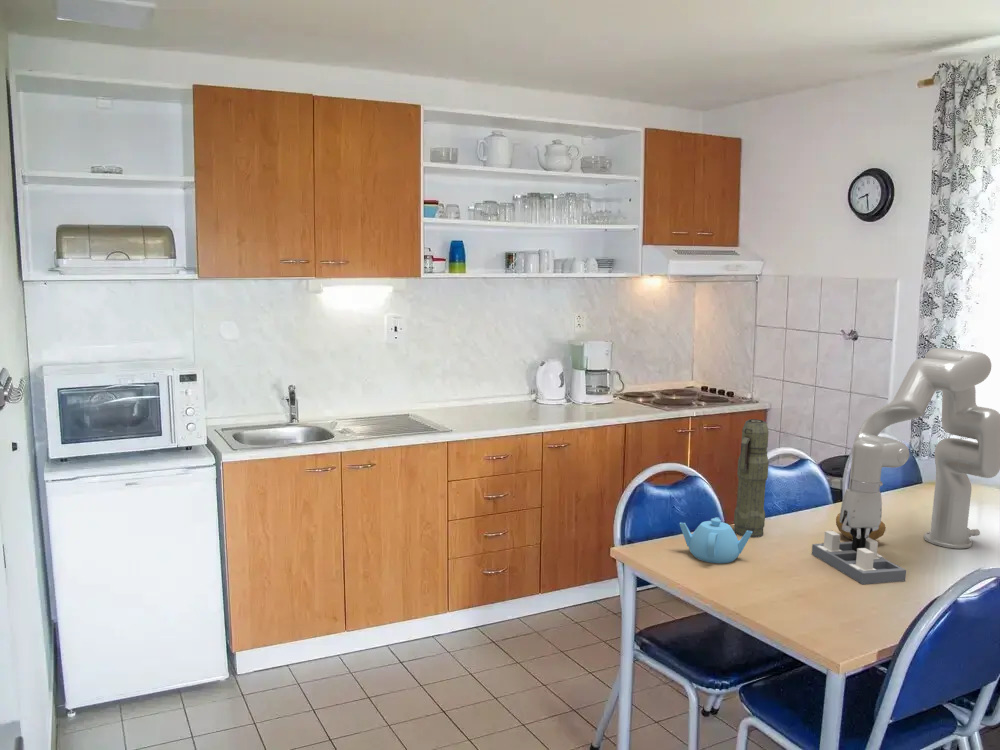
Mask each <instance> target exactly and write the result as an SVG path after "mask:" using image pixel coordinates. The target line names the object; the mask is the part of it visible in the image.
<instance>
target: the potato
mask: <svg viewBox="0 0 1000 750" xmlns="http://www.w3.org/2000/svg"><path fill="white" fill-rule="evenodd" d="M835 525H836V527H837V529H838V532H840V533H841V534H842V535H843V536H844V537H846V538H847V539H849V540H852V539H853V536H852V535H851V534H850V532H846V531H844V530H842V526H843V524H842V523H840V512H839V513H838V514H837V515H836V518H835ZM885 533H886V525H885V523H884V521H882V520H881V523H880V525H879V529H878V530H875V531H872V532H871V533H870V534H869V537H868V538H871V539H873V540H875V541H877V539H879V538H881V537H882V536H884V534H885Z"/></svg>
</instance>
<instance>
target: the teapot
mask: <svg viewBox="0 0 1000 750" xmlns="http://www.w3.org/2000/svg"><path fill="white" fill-rule="evenodd" d="M679 526H680V527H679V528H680V529H681V532H682V535H683V538H684V541H685V543H686V546H687V547H688V549H689V552H690V553H691V554H692V556H693V557H694V558H696V559H697V560H700V561H702V562H705V563H710V564H711V563H712V564H729V563H732V562H734V561H735V560H736V559H737V558H738V557H739V556H740V554H742V552H743V550H744V548H745V546H746V545H747V543H748V542H749V540H750V538H751V537H750V536H751V534H752V531H746V533H745V534H744V536H742V537H741V538H740V539H739V540H738V537H737V534H736V533H735V532H734V529H733V528H732V526H731V525H730V524H729V523H726V522H723V521H722V519H720V517H717V516H716V517H714V518H710V520H706V521H702V522H701V523H699V525H698V526H697V527H696V528H695V530H694V531H693V533H691V531H690V529H689V527H688V526H687V524H686V522H679Z"/></svg>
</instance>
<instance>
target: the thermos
mask: <svg viewBox="0 0 1000 750" xmlns="http://www.w3.org/2000/svg"><path fill="white" fill-rule="evenodd" d="M769 431H770V430H769V428H768V424H767V422H766V421H764V420H763V419H756V418H755V419H754V418H751V419H747V420H745V421H744V425H743V427H742V429H741V441H740V442H741V444H740V454H739V456H738V460H737V473H736V475H737V478H738V481H737V482H738V484H737V496H736V498H737V500H736V507H735V509H734V516H733V524H734V526H733V528H734V529H733V531H734V533H735V535H738V536H740V537H741V536H742V537H743V536H744V534H745V533H746V531H752V534H751V536H750V538H760V537H762V536H764V528H765V525H766V523H765V521H766V511H765V508H764V507H765V496H766V495H765V494H766V482H767V480H768V475H769V458H768V447H769V446H768V445H769V433H770V432H769Z"/></svg>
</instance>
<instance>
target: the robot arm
mask: <svg viewBox="0 0 1000 750" xmlns="http://www.w3.org/2000/svg"><path fill="white" fill-rule="evenodd" d="M991 370H992V362H991V359H990V357H989V355H987V354H985V353H983V352H978V351H972V350H961V349H955V348H945V347H943V348H942V347H935V348H932V349H930V350H928V351H927V352H926V354H925V356H924V358H918V359H917V360H914V361H913V362H912V364H911V365H910V367H909V369H908V371H907V372H906V374H905V376H904V379H903V380H902V382H901V383H900V386H899V387H898V389H897V392H896V393H895V396H894V398H892V401H890V402H889V403H887V404H885V405H883V406H882V407H880V408H879V409H876V410H875V411H874V412H873V413H871V414H870V415H869V416H868V417H867V418H866V419H865V420H864V421H863V422H862V425H861V427H860V428H859V430H858V432H857V434H856V436H855V438H854V441H853V445H852V450H851V451H852V453H851V462H850V463H851V464H850V471H849V472H850V473H849V474H850V475H849V485H848V488H846V489H845V492H844V494H843V498H842V501H841V508H840V512H839V513H840V523H842V524H843V526H842V530H844V531H846V532H850V534H851V535H852V536H853V539H851V540H852V541H851V542H852V550H854V551H856V552H857V548H865V544H866V539H867V538H868V537H869V534H870V533H871V532H872V531H875V530H878V529H879V525H880V523H881V521H882V513H883V511H882V510H883V501H882V493H881V491H880V487H882V486H883V485H884V484H883V481H882V480H881V476H882V469H883V468H890V469H893V468H899V467H900V468H901V467H902V466H904V465H905V464H906V463H907V462H908V460H909V457H910V450H909V447H908V446H907V444H905V443H904V442H902V441H900V440H898V439H897V440H896V439H893V438H888V437H884V436H880V435H879V434H880V433H881V432H882V431H883V430H885V429H886V428H887V427H890V426H891V425H894V424H897V423H903V422H905V421H911V420H915V419H918V418H920V417H922V416H923V415H924V414H925V412H926V410H927V408H928V405H930V402H931V401H932V398H933V396H934V395H935V392H936V391H940V392H941V393H942V396H941V398H942V399H941V400H942V401H941V427H942V429H943V430H944V432H946V433H947V434H949V435H952V436H957V437H962V438H967V440H966V439H962V438H961V439H960V438H955V437H948V438H947V437H946V438H943V439H940V440H939V442H937V444H936V446H935V448H934V462H935V484H934V485H935V486H934V492H933V505H932V514H931V521H930V522H931V523H930V531H927V532H925V533H924V534H923V535H924V536H923V538H924V540H925V541H927V542H928V543H930V544H932V545H935V546H939V547H943V548H948V549H955V550H957V549H962V550H963V549H968V548H971V547H972V544H973V543H972V540H971V539H970V537H977V536H980V535H981V531H980V529H978V528H976V529H970V527H968V523H969V515H970V507H971V497H972V491H973V490H972V482H971V480H970V478H969V476H968V475H971V476H975V477H978V478H984V479H990V478H994V477H996V476H997V475H998V474H999V473H1000V413H999V411H997V410H996V409H992V408H989V407H983V406H978V405H977V403H976V402H977V401H976V393H977V392H976V385H979V384H981V383H982V382H984V381H985V380H986V379H987V378H988V377H989V375H990V373H991ZM968 439H971V440H975V441H977V442H975V441H971V440H968Z"/></svg>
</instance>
